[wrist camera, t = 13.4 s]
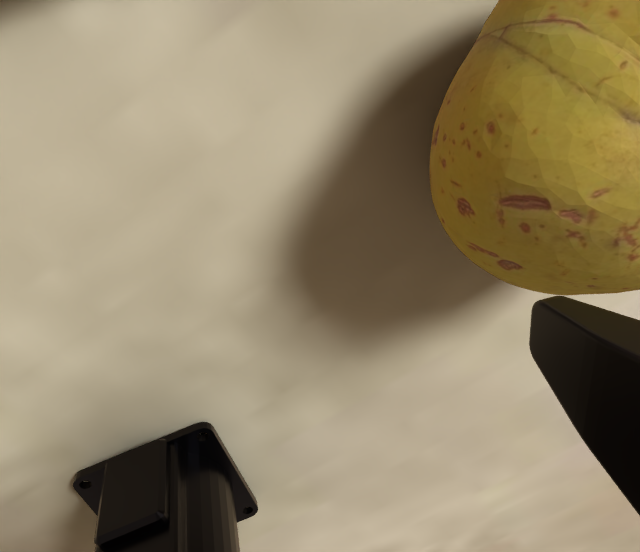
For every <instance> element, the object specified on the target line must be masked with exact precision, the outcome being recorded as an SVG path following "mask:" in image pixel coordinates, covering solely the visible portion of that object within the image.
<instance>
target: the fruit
mask: <svg viewBox="0 0 640 552" xmlns="http://www.w3.org/2000/svg"><path fill="white" fill-rule="evenodd" d="M430 187H431V194H432V200H433V204H434V207H435V209H436V212H437V215H438V217H439V220H440V222H441V224H442V226H443V228H444V230H445V231H446V232H447V234H448V235H449V237H450V238H451V240H452V241H453V243H454V244H455V245H456V246H457V247H458V248H459V250H460V251H461V252H462V253H463V254H464V255H465V256H466V257H468V258H469V259H470V260H471V261H472V262H473V263H475V264H476V265H478V266H479V267H481V268H482V269H484V270H485V271H487V272H488V273H490V274H492V275H493V276H495V277H497V278H499V279H501V280H503V281H505V282H507V283H509V284H512V285H515V286H518V287H521V288H525V289H529V290H532V291H537V292H542V293H548V294H555V295H579V294H604V293H620V292H626V291H633V290H640V0H499V1H498V3H497V5H496V6H495V8H494V9H493V11H492V13H491V14H490V16H489V17H488V19H487V20H486V22H485V24H484V26H483V28H482V30H481V32H480V34H479V36H478V38H477V40H476V42H475V44H474V45H473V47H472V48H471V50H470V52H469V53H468V55H467V57H466V58H465V60H464V62H463V63H462V65H461V66H460V68H459V69H458V71H457V73H456V75H455V77H454V79H453V80H452V82H451V84H450V86H449V88H448V90H447V93H446V95H445V98H444V100H443V103H442V105H441V108H440V110H439V113H438V116H437V118H436V121H435V124H434V129H433V136H432V144H431V151H430Z"/></svg>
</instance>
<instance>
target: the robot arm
mask: <svg viewBox="0 0 640 552" xmlns="http://www.w3.org/2000/svg"><path fill="white" fill-rule="evenodd" d="M529 345H530V351H531V354H532V357H533V359H534V360H535V362H536V364H537V365H538V367H539V369H540V370H541V372H542V374H543V375H544V377H545V379H546V380H547V382H548V384H549V385H550V387H551V389H552V390H553V392H554V394H555V395H556V397H557V399H558V400H559V402H560V404H561V405H562V407H563V409H564V410H565V412H566V414H567V415H568V417H569V419H570V420H571V422H572V424H573V425H574V427H575V428H576V430H577V432H578V433H579V435H580V436H581V438H582V439H583V441H584V442H585V443H586V445H587V446H588V448H589V449H590V450H591V452H592V453H593V454H594V456H595V457H596V458H597V460H598V461H599V462H600V464H601V465H602V466H603V468H604V469H605V470H606V472H607V473H608V474H609V476H610V477H611V478H612V480H613V481H614V482H615V484H616V485H617V486H618V488H619V489H620V490H621V492H622V493H623V494H624V496H625V497H626V498H627V500H628V501H629V502H630V503H631V505H632V506H633V507H634V509H635V510H636V511H637V513H638V514H639V515H640V320H637V319H634V318H630V317H627V316H624V315H621V314H618V313H615V312H612V311H608V310H605V309H602V308H599V307H596V306H593V305H589V304H586V303H583V302H580V301H577V300H574V299H570V298H567V297H564V296H554V297H550V298H546V299H543V300H539V301H537V302H536V303H535V304H534V305H533V307H532V314H531V327H530V341H529ZM203 432H205V433H206V434H204V435H200V433H203ZM85 480H87V481H88V482H84V481H85ZM73 487H74V489H75V490H76V491H77V492H78V494H79V495H80V496H81V497H82V498H83V500H84V501H85V502H86V503H87V504H88V505H89V507H90V508H91V509H92V510H93V511H94V513H95V514H96V515H97V516H98V517H97V524H96V531H95V538H94V543H95V544H96V547H95V552H240V547H239V538H238V529H237V522H239V521H242V520H244V519H247V518H249V517H252V516H253V515H255V514H256V513H257V511H258V506H257V501H256V499H255V497H254V495H253V494H252V492H251V490H250V488H249V487H248V485H247V483H246V482H245V480H244V478H243V476H242V475H241V473H240V471H239V470H238V468H237V466H236V465H235V463H234V461H233V459H232V458H231V456H230V454H229V453H228V451H227V449H226V447H225V446H224V444H223V442H222V441H221V439H220V437H219V436H218V434H217V432H216V430H215V429H214V427H213V426H212V425H211V424H210V423H208V422H200V423H197V424H194V425H192V426H189V427H187V428H185V429H182V430H180V431H177V432H175V433H172V434H170V435H167V436H165V437H162V438H160V439H157V440H155V441H152V442H150V443H148V444H145V445H143V446H140V447H138V448H135V449H133V450H130V451H128V452H125V453H123V454H120V455H118V456H116V457H113V458H111V459H108V460H106V461H103V462H101V463H98V464H96V465H93V466H91V467H88V468H86V469H83V470H81V471H79V472H78V473H77V474H76V475H75V478H74V483H73ZM246 507H247V508H246Z"/></svg>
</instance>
